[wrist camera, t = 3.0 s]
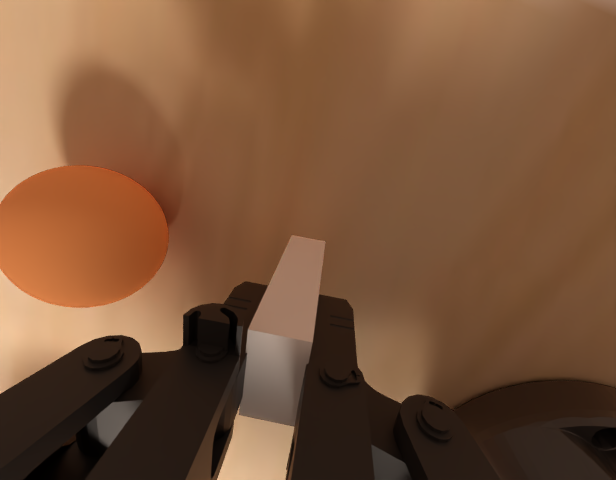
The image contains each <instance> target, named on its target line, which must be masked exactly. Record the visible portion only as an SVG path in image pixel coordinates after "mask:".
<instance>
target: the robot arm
mask: <svg viewBox="0 0 616 480" xmlns="http://www.w3.org/2000/svg"><path fill="white" fill-rule="evenodd" d="M325 242H326V241H321V240H316V239H311V238H305V237H300V236H295V235H292V236H291V238H290V240H289V242H288V244H287V246H286V248H285V251H284V253H283V255H282V257H281V259H280V261H279V264H278V266H277V268H276V270H275V272H274V274H273V276H272V279H271V281H270V283H269V285H268V286H267V285H261V284H256V283H251V282H246V281H245V282H244V283H242V284H240V285H238V286H237V287H235V288H234V289H233V291H232V292H231V294H230V295H229V298H227V300H226V301H225V303H224V304H216V303H211V304H204V305H200V306H197V307H195V308H192V309H190V310H189V311H188V312H187V313H185V314H184V315H183V346H182V347H181V349H179V350H175V351H168V352H152V353H142V352H141V347H140V344H139V343H138V342H137V341H136V340H135V339H133V338H131V337H127V336H123V335H117V336H106V337H102V338H98V339H94V340H92V341H90V342H88V343H85V344H83V345H81V346H80V347H78V348H76V349H75V350H73V351H71V352H70V353H68V354H66V355H65V356H63V357H61V358H60V359H58V360H56V361H55V362H53V363H51V364H50V365H48V366H46V367H45V368H43V369H41V370H40V371H38V372H36V373H35V374H33V375H31V376H30V377H28V378H26V379H24V380H23V381H21V382H19V383H18V384H16V385H14V386H13V387H11V388H9V389H8V390H6V391H4V392H3V393H1V394H0V480H217V478H218V475H219V472H220V469H221V466H222V464H223V461H224V458H225V455H226V452H227V449H228V446H229V444H230V441H231V438H232V433H233V425H234V419H235V416H236V413H237V411H238V408H239V405H240V409H239V415H242V416H247V417H252V418H257V419H261V420H266V421H271V422H275V423H280V424H285V425H290V426H294V427H295V428H294V434H293V439H292V444H291V449H290V453H289V458H288V463H287V468H286V470H287V474H286V480H616V388H613V387H609V386H605V385H601V384H595V383H589V382H581V381H541V382H532V383H526V384H520V385H515V386H511V387H507V388H503V389H500V390H496V391H493V392H490V393H488V394H485V395H482V396H480V397H478V398H476V399H473V400H471V401H469V402H468V403H466V404H464V405H462V406H460V407H459V408H457V409H456V410H454V411H453V410H451V409H450V408H449V407H447V406H446V405H445V404H444V403H442V402H440V401H438V400H436V399H434V398H432V397H429V396H423V395H414V396H409V397H407V398H406V399H405V400H404V401H403V402H402V404H400V403H398V402H396V401H394V400H392V399H390V398H388V397H386V396H384V395H382V394H380V393H379V392H377V391H375V390H374V389H373V388H372V387H370V386H369V385H368V384H367V383H366V382H365V380H364V377H363V374H362V372H361V371H360V370H359V368H358V366H357V356H356V343H355V331H354V322H353V321H354V317H353V309H352V307H351V306H350V305H349V303H348V302H347V300H344V299H339V298H334V297H329V296H324V295H319V289H320V281H321V274H322V266H323V258H324V250H325Z"/></svg>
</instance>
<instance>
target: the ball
mask: <svg viewBox="0 0 616 480" xmlns="http://www.w3.org/2000/svg"><path fill="white" fill-rule="evenodd" d="M168 241H169V233H168V226H167V222H166V218H165V216H164V213H163V211H162V209H161V207H160V206H159V204H158V203H157V201H156V200H155V199H154V197H153V196H152V195H151V194H150V193H149V192H148V191H147V190H146V189H145V188H144V187H142V186H141V185H140V184H139V183H137V182H135V181H134V180H132V179H130V178H129V177H127V176H125V175H123V174H120V173H118V172H115V171H112V170H109V169H105V168H100V167H94V166H83V165H77V166H63V167H58V168H53V169H49V170H46V171H43V172H40V173H38V174H36V175H33V176H31V177H29V178H28V179H26V180H24V181H23V182H21V183H20V184H18V185H17V186H16V187H15V188H14V189H12V190H11V191H10V192H9V193H8V194H7V195H6V196H5V198H4V199H3V201H2V202H1V204H0V269H1V270H2V272H3V273H4V274H5V275H6V277H7V278H8V279H9V280H10V281H11V282H12V283H13V284H14V285H16V286H17V287H18V288H19V289H21V290H22V291H24V292H25V293H27V294H28V295H30V296H32V297H34V298H37V299H39V300H41V301H44V302H47V303H50V304H54V305H59V306H64V307H78V308H83V307H95V306H102V305H106V304H109V303H113V302H116V301H119V300H121V299H123V298H126V297H128V296H130V295H132V294H133V293H135V292H136V291H138V290H139V289H141V288H142V287H143V286H144V285H146V284H147V283H148V282H149V281H150V280H151V279H152V278H153V277H154V275H155V274H156V272H157V271H158V270H159V268H160V267H161V265H162V263H163V261H164V258H165V256H166V252H167V248H168Z"/></svg>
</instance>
